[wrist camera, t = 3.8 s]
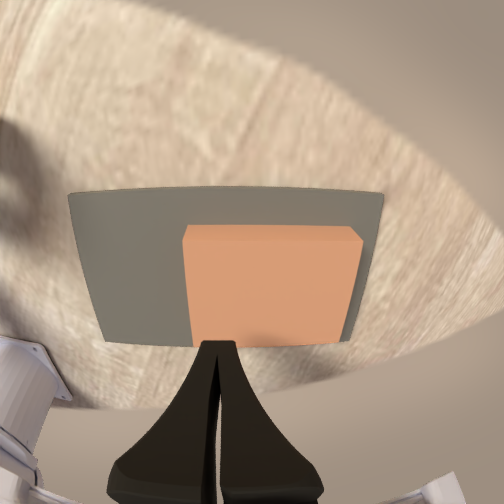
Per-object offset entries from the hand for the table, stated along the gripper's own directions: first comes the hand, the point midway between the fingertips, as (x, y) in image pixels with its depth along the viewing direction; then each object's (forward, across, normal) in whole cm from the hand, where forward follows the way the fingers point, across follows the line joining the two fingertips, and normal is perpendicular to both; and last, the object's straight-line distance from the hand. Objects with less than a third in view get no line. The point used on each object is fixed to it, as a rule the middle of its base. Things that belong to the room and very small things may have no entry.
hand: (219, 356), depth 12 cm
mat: (+6, 0, 0) cm, 6 cm away
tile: (+5, +2, 0) cm, 5 cm away
